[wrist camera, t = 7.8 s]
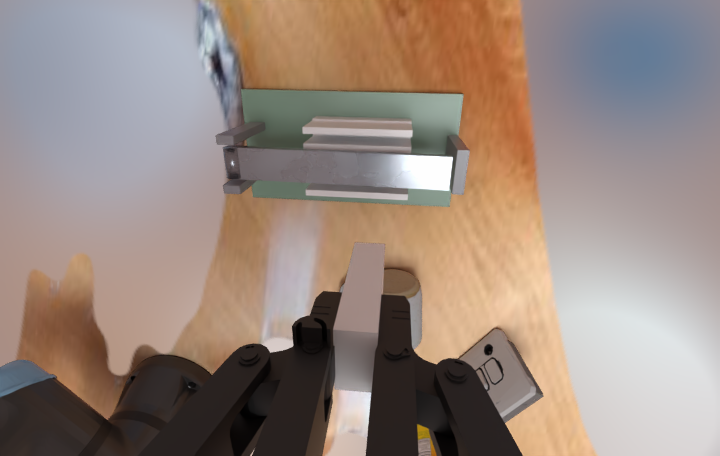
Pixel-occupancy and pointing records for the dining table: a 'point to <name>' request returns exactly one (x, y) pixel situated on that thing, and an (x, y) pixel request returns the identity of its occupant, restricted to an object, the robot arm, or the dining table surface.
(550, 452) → the dining table surface
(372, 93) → the base
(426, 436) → the supplement bottle
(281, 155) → the grey retaining bar
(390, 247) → the dining table surface
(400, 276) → the ceramic mug
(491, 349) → the electrical switch
